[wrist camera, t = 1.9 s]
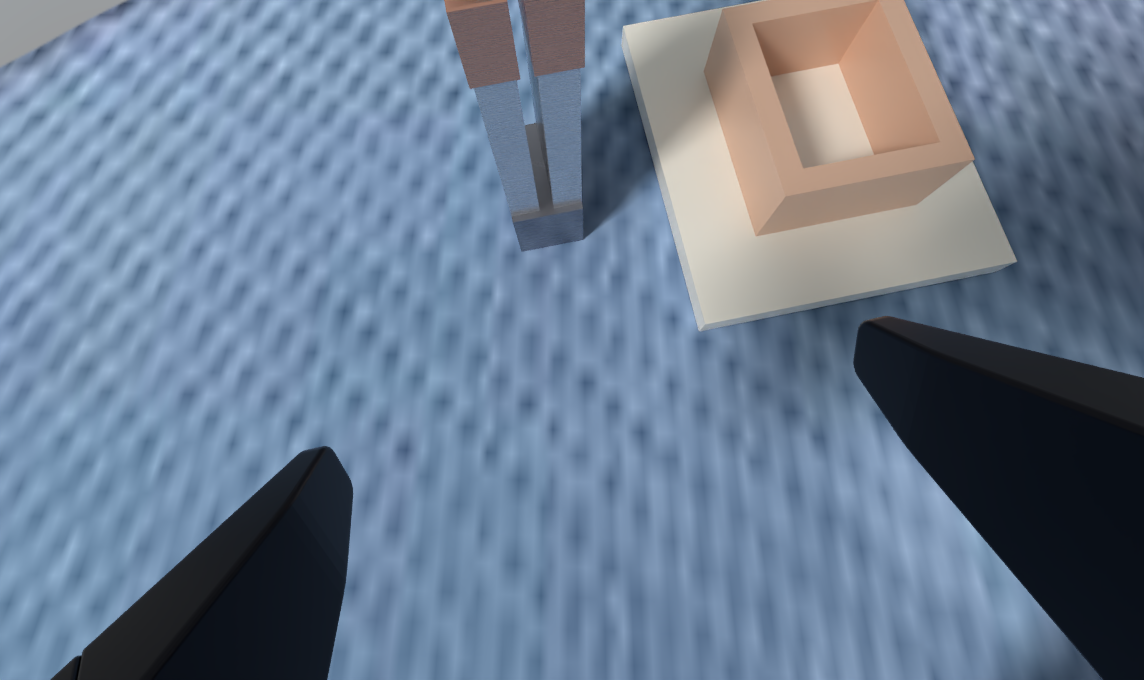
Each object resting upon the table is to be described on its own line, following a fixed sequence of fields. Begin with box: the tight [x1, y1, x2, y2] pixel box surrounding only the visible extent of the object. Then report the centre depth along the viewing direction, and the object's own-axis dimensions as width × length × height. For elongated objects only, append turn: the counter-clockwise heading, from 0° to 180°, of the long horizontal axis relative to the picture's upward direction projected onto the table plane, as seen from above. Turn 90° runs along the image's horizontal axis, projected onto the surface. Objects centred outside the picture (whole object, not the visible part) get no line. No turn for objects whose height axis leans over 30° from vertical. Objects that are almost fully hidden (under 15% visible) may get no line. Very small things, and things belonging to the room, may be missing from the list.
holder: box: [622, 0, 1017, 331], centre depth 23 cm, size 16×14×5 cm
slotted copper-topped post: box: [444, 0, 585, 251], centre depth 18 cm, size 4×3×13 cm
